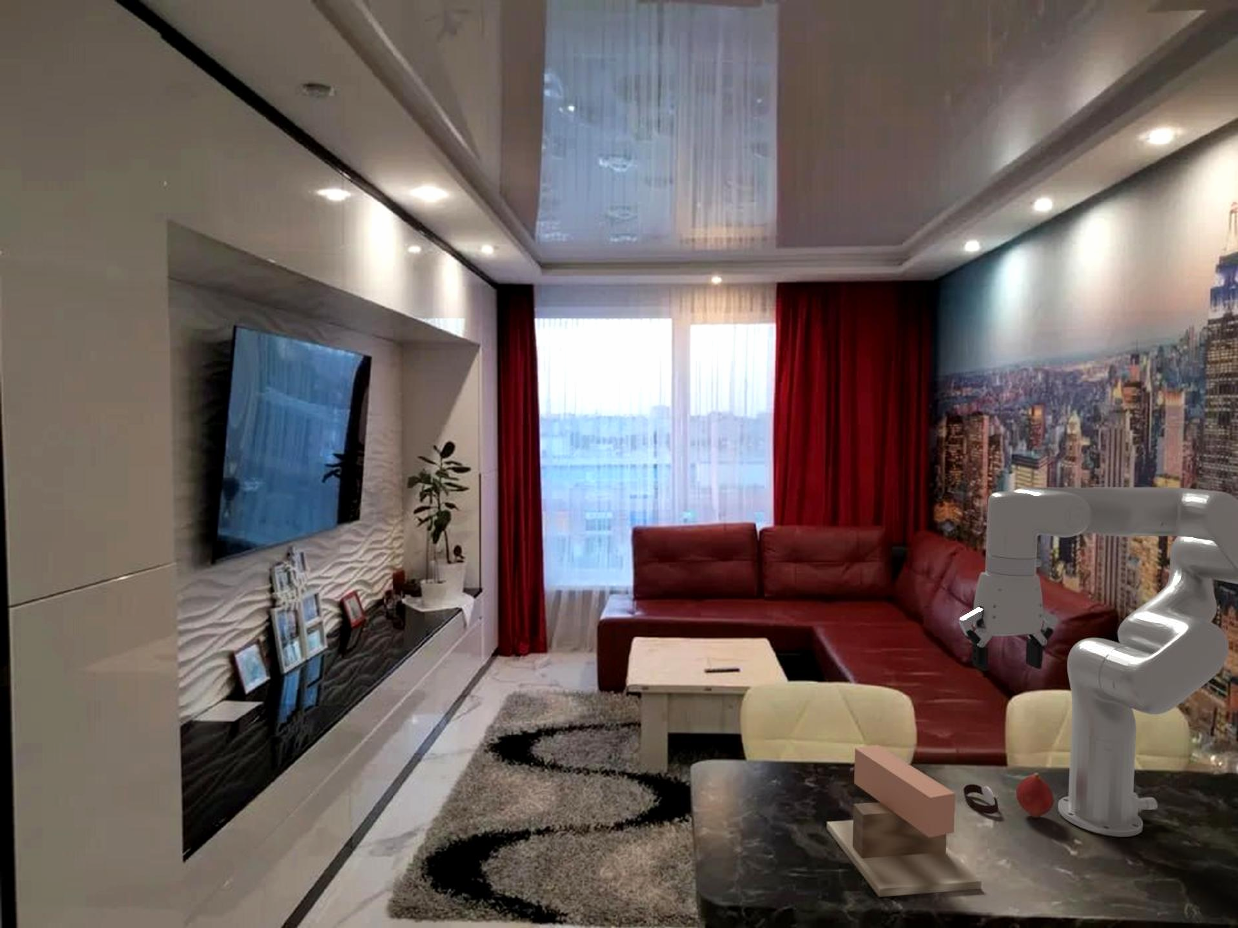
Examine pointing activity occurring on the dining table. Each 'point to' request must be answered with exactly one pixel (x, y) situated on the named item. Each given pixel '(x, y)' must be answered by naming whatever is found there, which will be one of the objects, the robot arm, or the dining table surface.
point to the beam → (905, 790)
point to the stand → (899, 854)
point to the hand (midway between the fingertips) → (1006, 667)
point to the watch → (986, 793)
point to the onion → (1034, 796)
